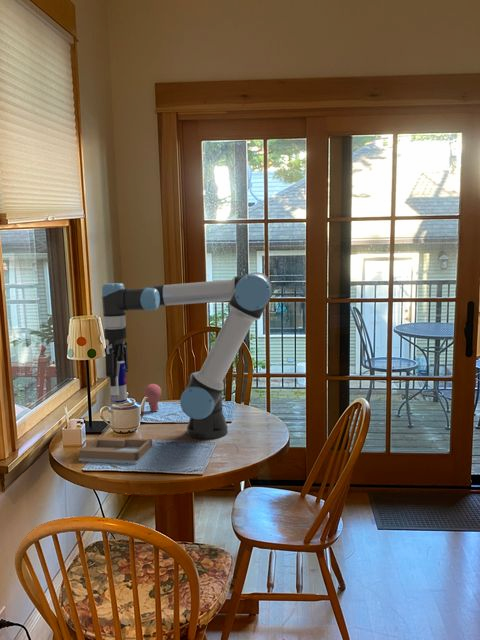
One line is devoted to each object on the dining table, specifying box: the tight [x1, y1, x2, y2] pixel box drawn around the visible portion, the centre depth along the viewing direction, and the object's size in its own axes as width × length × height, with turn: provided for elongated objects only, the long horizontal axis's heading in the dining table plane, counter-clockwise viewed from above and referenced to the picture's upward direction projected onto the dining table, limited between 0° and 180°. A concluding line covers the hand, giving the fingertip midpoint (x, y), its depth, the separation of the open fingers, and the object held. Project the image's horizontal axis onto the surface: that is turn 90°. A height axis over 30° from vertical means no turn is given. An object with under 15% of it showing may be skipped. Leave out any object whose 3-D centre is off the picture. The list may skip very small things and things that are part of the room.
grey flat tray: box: [78, 436, 154, 465], centre depth 194 cm, size 20×16×3 cm
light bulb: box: [144, 383, 162, 412], centre depth 244 cm, size 7×7×12 cm
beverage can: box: [109, 361, 128, 406], centre depth 202 cm, size 6×6×15 cm
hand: (118, 392), depth 202 cm, fingers closed on beverage can, 5 cm apart
